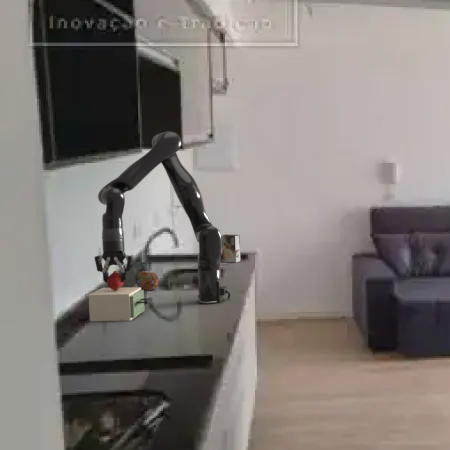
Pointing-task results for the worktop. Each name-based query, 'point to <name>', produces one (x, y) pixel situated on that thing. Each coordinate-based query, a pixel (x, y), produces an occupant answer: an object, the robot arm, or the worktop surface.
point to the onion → (114, 281)
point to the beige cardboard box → (111, 304)
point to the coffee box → (230, 248)
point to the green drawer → (138, 303)
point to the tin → (147, 280)
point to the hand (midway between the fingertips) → (115, 281)
